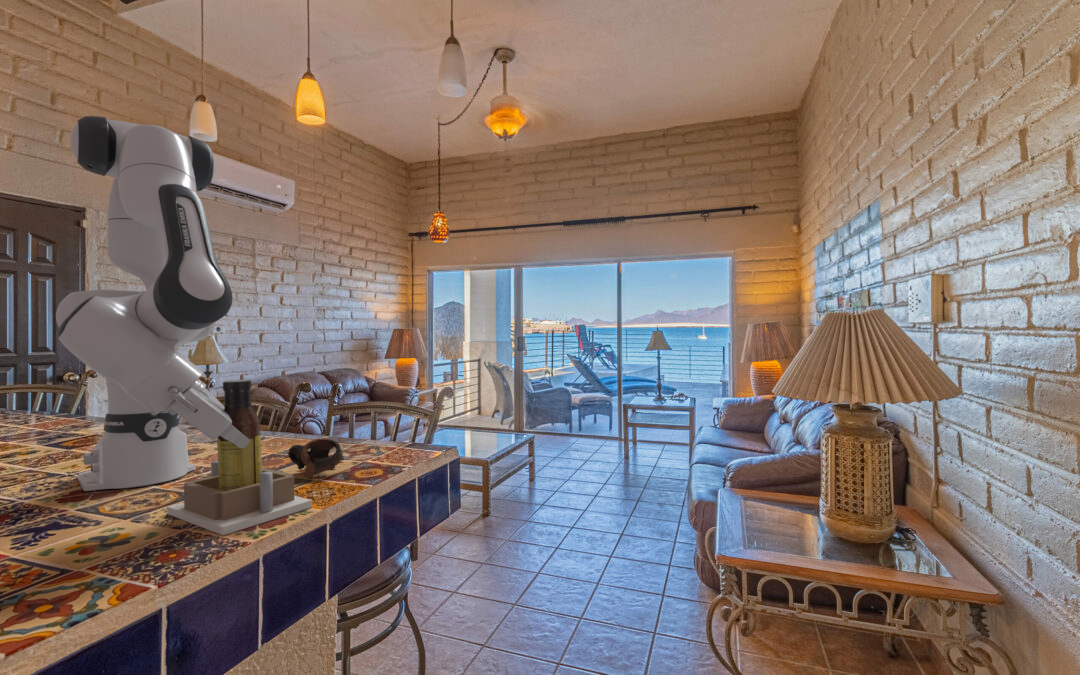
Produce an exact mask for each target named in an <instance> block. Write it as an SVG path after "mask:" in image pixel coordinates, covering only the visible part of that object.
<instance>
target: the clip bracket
mask: <svg viewBox="0 0 1080 675" xmlns="http://www.w3.org/2000/svg"><path fill="white" fill-rule="evenodd" d="M210 474H211V475H210V476H208V477H203V478H199V479H194V480H191V481H190V480H189V481H186V482H184V484H183V488H184V489H183V490H184V491H183V493H184V496H183V498H184V499H183V500H184V502H181V503H177V504H173V505H172V504H171V505H169V506H167V508H166V510H167V512H166V513H167V515H169V516H171V517H174V518H177V519H179V520H181V521H185V522H188V523H190V524H192V525H195V526H198V527H200V528H202V529H206V530H207V531H210V532H213V533H216V534H218V535H221V536H225V535H229V534H232V533H235V532H239V531H242V530H244V529H248V528H250V527H251V528H252V527H254V526H257V525H260V524H264V523H266V522H270V521H273V520H276V519H279V518H283V517H286V516H289V515H291V514H292V515H293V514H295V513H299V512H301V511H302V512H303V511H305V510H309V509H311V508H313V500H312V499H308V498H307V497H306V498H304V497H301V496H298V495H295V476H294V474H292V473H289V472H283V471H281V470H275V469H271V468H266V467H262V473H260V483H257V484H253V485H249V486H245V487H241V488H237V489H233V490H229V491H225V492H223V491H219V476H218V460H215V461H211V463H210Z"/></svg>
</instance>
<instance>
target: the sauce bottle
mask: <svg viewBox="0 0 1080 675" xmlns="http://www.w3.org/2000/svg"><path fill="white" fill-rule="evenodd" d="M252 387H253V386H252V380H251V379H236V380H235V379H233V380H232V379H231V380H225V381H223V382H222V390H223V392H224V405H223V406H224V407H225V408H224V411H225V412H227V414H228V415H229V416H230V418H231V420H232V425H233V426H234V427H235V428H236V429H237V430H238V431H240V432H241V433H242V434H244V435H245V436H246V437H248V438H249V440H250V442H249V444H248V445H247V446H246V447H245V448H242V449H241V448H239V447H238V446H236V445H235V444H234V443H232V442H230V441H228V440H226V439H224V438H223V437H221V436H220V435H219V436H218V437H217V438H216V439H217V440H216V443H217V445H216V446H217V448H216V449H217V461H218V476H219V491H223V492H225V491H229V490H233V489H237V488H241V487H245V486H249V485H253V484H257V483H260V473H262V468H263V466H262V465H263V464H262V463H263V462H262V441H261V440H262V438H261V429H260V424H261V423H260V419H259V417H258V415H257V412H256V411H255V410H254V409H253V407H252V400H251V398H252V397H251V388H252Z"/></svg>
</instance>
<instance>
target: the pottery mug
mask: <svg viewBox="0 0 1080 675" xmlns="http://www.w3.org/2000/svg"><path fill="white" fill-rule="evenodd" d="M334 448H335V452H334V453H333V454H331V455H329V453H330V452H331V450H333V449H334ZM342 452H343V450H342V449H341V446H340V443H339V442H338V441H336V440H333V439H330V438H322V437H321V438H315V439H312V440H309V441H308V442H307V443H306V444H305V445H302V444H293V445H292V446H290V448H289V449H288V452H287V455H288V457H289V459H290V461H291V462H292V463H294V464H295V465H296V466H297V468H298V470H300V471H301V470H303V469H304V468H305V469H304V472H303V473H304V475H303V476H304V477H305V478H307V479H310V480H311V479H312V478H313V477H314V475H317V474H320V473H323V472H326V471H329V470H332V469H334V468H335V467H336V466H337V465H338V464H340V462H341V461H345V458H344V455H343V453H342Z"/></svg>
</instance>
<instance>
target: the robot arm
mask: <svg viewBox="0 0 1080 675" xmlns="http://www.w3.org/2000/svg"><path fill="white" fill-rule="evenodd" d="M69 139H70V140H69V141H70V142H69V143H70V148H71V151H72V154H73V155H74V157H75V159H76V161H77V164H78V165H79V166H81V167H82V169H84V170H85V171H87V172H90V173H93V174H95V175H99V176H101V177H105V176H109V177H113V180H112V184H111V187H110V188H111V189H110V194H109V197H108V198H109V200H108V204H107V205H108V207H107V256H108V259H109V260H110V262H111V263H112V264H113V265H114V266H115V267H117V268H119V269H120V270H122V271H124V272H126V273H128V274H130V275H132V276H134V277H136V278H139V280H141V282H142V283H143V285H144V287H145V291H144V290H143V291H140V290H139V291H136V290H121V289H120V290H116V289H93V290H92V289H91V290H81V291H74V292H73V291H72V292H70V293H69V294H67V295H66V296H65V297H64V298H63V299H62V300H61V301H60V302H59V304H58V306H57V309H56V313H55V319H56V324H57V326H58V331H57V338H58V340H59V341H60V343H61V344H62V345H63V346H64V348H66V349H67V350H68V351H69V352H70V353H71V354H72V355H73V356H75V357H76V358H77V359H78V360H80V362H82V363H83V364H84V365H86V366H87V367H88V368H90V369H91V370H92V371H94V372H95V373H96V374H97V375H98V376H101V377H103V378H105V383H106V391H107V392H106V393H107V408H108V409H107V410H108V411H107V413H106V414H105V419H104V421H103V432H104V434H103V435H102V437H101V438H100V439H99V441H98V442H97V444H96V445H95V446H94V448H93V449H92V450H91V452H87V453H83V464H84V465H85V466H88V465H91V467H90V470H86V471H83V472H80V473H78V474H77V480H78V482H79V485H80V487H81V488H82V490H83V491H84V492H89V491H97V490H98V491H99V490H110V489H111V490H112V489H113V490H115V489H130V488H137V487H145V486H149V485H154V484H159V483H160V484H161V483H165V482H169V481H172V480H176V479H179V478H181V477H183V476H185V475H187V474H188V473H190V472H192V471H194V470H196V464H194V463H189V462H190V460H189V453H188V452H189V451H188V442H187V441H188V438H187V434H186V433H185V432H184V431H182V430H181V429H180V428H179V426H180V418H182V419H183V420H184V421H186V422H187V423H188V424H190V426H192V427H193V428H195V429H196V430H198V431H199V432H201V433H202V434H203V435H204V436H206V437H208V438H209V439H211V440H215V439H217V437H218V436H219V435H220V436H221V437H223V438H224V439H226V440H228V441H230V442H232V443H234V444H235V445H236V446H238V447H239V448H241V449H242V448H245V447H246V446H247V445H248V444H249V442H250V440H249V438H248V437H246V436H245V435H244V434H242V433H241V432H240V431H238V430H237V429H236V428H235V427H234V426H233V425H232V420H231V418H230V416H229V415H228V414H227V412H225V411H224V408H225V407H224V405H223V404H222V402H220V400H219V399H217V397H216V396H215V395H214V394H212V393H211V391H209V390H208V388H207V384H206V383H204V382H203V381H202V380H201V379H200V378H201V377H202V376H203V375H204V374H205V372H204V371H203V370H202V369H200V368H199V367H198V366H197V365H195V364H194V363H193V362H192V361H190V360H189V359H188V358H186V356H184V355H182V354H181V353H180V352H179V351H178V350H176V349H178V348H180V347H182V346H184V345H186V344H187V343H188V344H189V343H193V342H199V341H204V340H206V339H207V338H208V337H209V336H210V335H211V334H212V332H213V330H214V328H215V325H216V322H218V321H219V320H222V318H224V317H225V316H226V315H227V314H228V312H229V311H230V309H231V308H232V304H233V291H232V288H231V286H230V283H229V281H228V279H227V277H226V276H225V274H224V272H223V271H222V269H221V267H220V266H219V262H218V261H217V260H218V259H217V257H216V254H215V248H214V245H213V244H214V243H213V240H212V237H211V232H210V226H209V224H208V218H207V215H206V210H205V208H204V205H203V203H202V200H201V199H200V197H199V196H198V192H201V191H203V190H204V189H206V188H207V187H209V186H210V185H211V183H212V180H213V179H214V176H215V174H216V169H217V168H216V165H217V164H216V160H215V157H214V152H213V150H212V149H211V147H210V145H209V144H208V143H206V142H205V141H203V140H200V139H199V138H197V137H193V136H186V135H182V134H179V133H177V132H174V131H172V130H170V129H168V128H166V127H163V126H161V125H156V124H141V123H134V122H129V121H123V120H122V121H121V120H116V119H108V118H107V117H105V116H98V115H85V116H83V117H81V118H78V120H77V122H76V124H75V125H74V126H73V128H72V129H71V132H70V138H69Z"/></svg>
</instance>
